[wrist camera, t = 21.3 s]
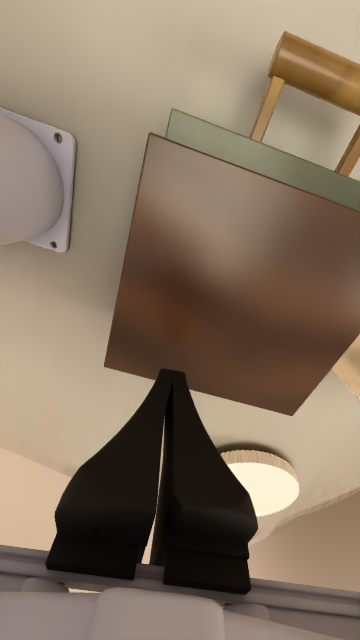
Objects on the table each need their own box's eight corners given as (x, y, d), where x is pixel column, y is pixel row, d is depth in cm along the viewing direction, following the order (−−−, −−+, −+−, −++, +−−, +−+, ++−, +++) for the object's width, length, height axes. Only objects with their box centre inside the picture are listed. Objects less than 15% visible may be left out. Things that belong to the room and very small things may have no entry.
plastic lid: (300, 441, 30) (309, 462, 27) (284, 498, 36) (290, 518, 34) (188, 442, 31) (188, 462, 28) (193, 497, 37) (193, 516, 35)
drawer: (200, 37, 12) (204, -40, 8) (415, 129, 14) (511, 104, 10) (135, 306, 20) (120, 336, 16) (276, 347, 22) (296, 385, 18)
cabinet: (164, 152, 16) (148, 131, 10) (356, 223, 17) (438, 240, 11) (126, 320, 22) (103, 367, 16) (268, 361, 24) (292, 416, 18)
